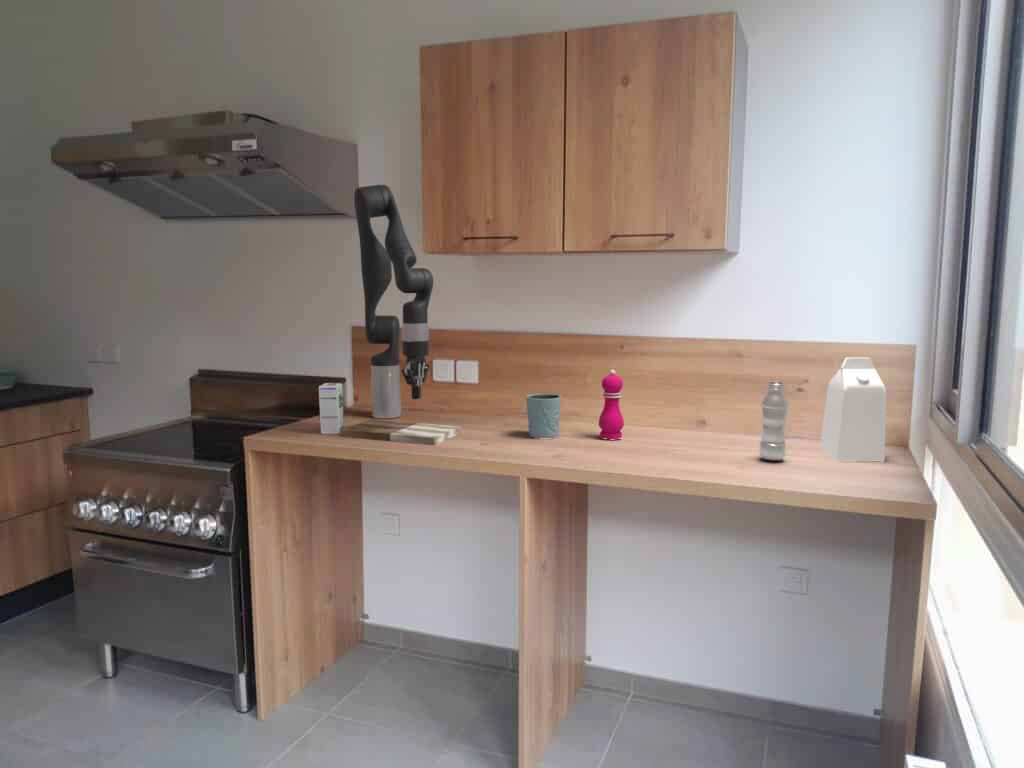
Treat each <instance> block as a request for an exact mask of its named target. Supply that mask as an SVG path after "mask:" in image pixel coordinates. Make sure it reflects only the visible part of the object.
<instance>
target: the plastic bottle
mask: <svg viewBox="0 0 1024 768" xmlns="http://www.w3.org/2000/svg"><path fill="white" fill-rule="evenodd" d="M784 384H785V383H784V382H781V381H769V382H768V387H767V390H768V392H767V394H765V396H764V398H762V402H761V407H762V408H761V409H762V410H761V411H762V432H761V439H760V440H761V441H760V442H759V447H758V452H759V456H760V458H761V459H762V460H767V461H769V460H770V462H775V461H778V462H779V461H782V460H783V459H784V458H785V456H786V453H787V447H786V446H787V445H786V442H785V441H786V440H785V439H786V437H785V429H786V422H787V421H786V419H787V414H788V409H789V406H790V405H789V400H788V399H787V397H786V396H785V394H784V392H783V391H785V388H784V387H785V385H784Z"/></svg>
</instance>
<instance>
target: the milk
mask: <svg viewBox="0 0 1024 768" xmlns="http://www.w3.org/2000/svg"><path fill="white" fill-rule="evenodd" d="M824 405H825V407H824V414H823V415H824V416H823V423H822V429H821V430H822V431H821V439H820V443H819V444H820V446H819V451H820V450H821V451H823V452H824V453H826V454H828V455H829V456H831V457H832V458H834V459H836V460H880V461H884V460H885V458H886V456H885V454H886V450H885V449H886V422H887V421H886V419H887V417H886V416H887V415H886V412H887V410H886V409H887V390H886V387H885V384H884V383H883V381H882V379H881V377H880V375H879V373H878V371H877V370H876V368H875V365H874V362H873V360H872V358H871V357H845V358H844V360H843V362H842V364H841V366H840V368H839V370H838V371H837V372H836V373H834V375H833V376H832V378H831V379H830V381H829V382H828V386H827V390H826V400H825V404H824Z"/></svg>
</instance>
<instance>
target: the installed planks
mask: <svg viewBox="0 0 1024 768" xmlns="http://www.w3.org/2000/svg"><path fill="white" fill-rule="evenodd" d="M414 424H417V422H411V421H410V422H408V421H397V420H388V419H387V420H386V419H376V418H375V419H373V418H372V419H368V420H365V421H362V422H359V423H356V424H353V425H350V426H348V427H344V429H341V430H340V431H341V433H340V437H342V438H343V437H345V438H355V439H365V440H369V439H370V440H375V441H388V442H389V441H390V434H391V433H394V432H396V431H399V430H401V429H404V428H407V427H409V426H412V425H414ZM390 442H391V441H390Z"/></svg>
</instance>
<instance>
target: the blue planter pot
mask: <svg viewBox="0 0 1024 768" xmlns="http://www.w3.org/2000/svg"><path fill="white" fill-rule="evenodd" d="M525 399H526V400H525V401H526V402H525V403H526V410H527V411H526V413H527V422H528V434H529V435H528V436H529V437H530V436H531V437H534V438H554V437H557V436H558V437H559V435H560V431H559V430H560V419H561V417H560V415H561V414H560V413H561V403H562V396H561V395H560V394H557V393H547V392H546V393H543V392H542V393H533V394H532V393H531V394H528V395H526V396H525ZM531 437H530V438H531ZM534 438H533V439H534Z"/></svg>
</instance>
